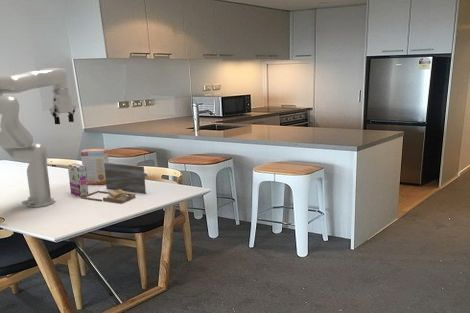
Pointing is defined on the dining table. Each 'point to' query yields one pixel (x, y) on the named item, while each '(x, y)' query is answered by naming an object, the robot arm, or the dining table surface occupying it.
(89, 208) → the dining table surface
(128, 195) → the offcut middle
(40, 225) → the dining table surface
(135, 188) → the rack
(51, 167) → the dining table surface
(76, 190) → the candy bar box
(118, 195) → the offcut top
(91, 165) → the cracker box
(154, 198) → the dining table surface
